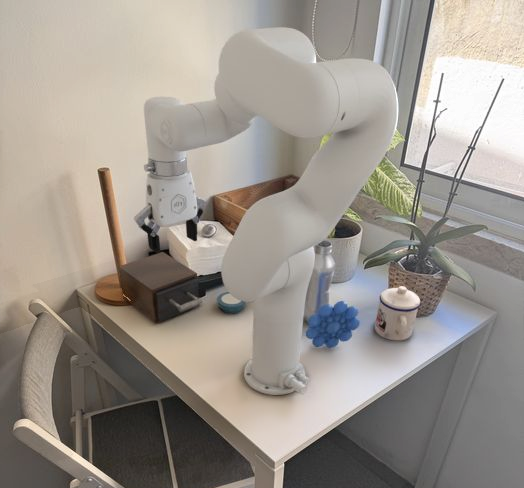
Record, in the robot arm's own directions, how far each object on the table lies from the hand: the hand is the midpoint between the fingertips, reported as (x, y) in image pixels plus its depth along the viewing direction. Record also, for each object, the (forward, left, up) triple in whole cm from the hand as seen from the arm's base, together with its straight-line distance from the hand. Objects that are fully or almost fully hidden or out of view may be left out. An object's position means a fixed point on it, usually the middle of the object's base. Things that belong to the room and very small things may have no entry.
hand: (174, 244), depth 113 cm
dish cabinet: (+7, 0, -18) cm, 20 cm away
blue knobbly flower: (-32, -19, -18) cm, 41 cm away
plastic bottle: (-23, -24, -18) cm, 38 cm away
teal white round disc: (-6, -12, -18) cm, 22 cm away
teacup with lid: (-39, -34, -18) cm, 55 cm away
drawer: (+3, 0, -17) cm, 17 cm away
